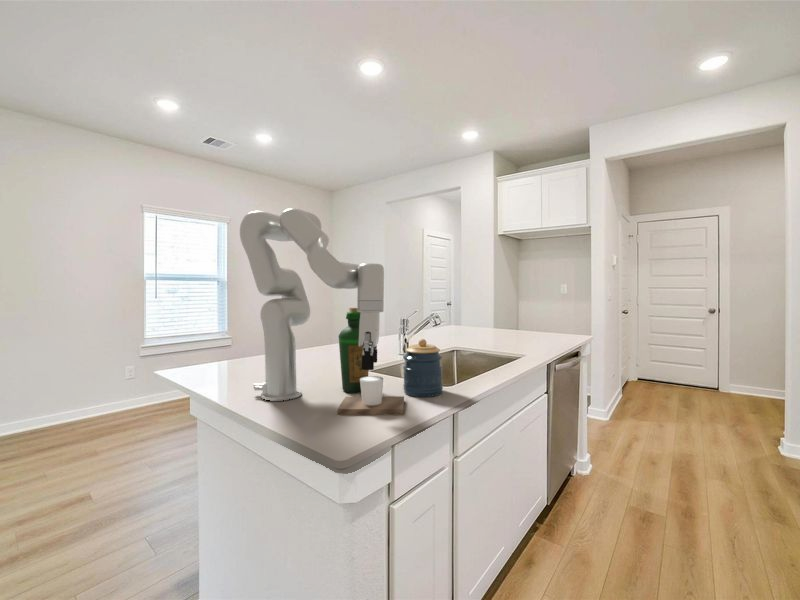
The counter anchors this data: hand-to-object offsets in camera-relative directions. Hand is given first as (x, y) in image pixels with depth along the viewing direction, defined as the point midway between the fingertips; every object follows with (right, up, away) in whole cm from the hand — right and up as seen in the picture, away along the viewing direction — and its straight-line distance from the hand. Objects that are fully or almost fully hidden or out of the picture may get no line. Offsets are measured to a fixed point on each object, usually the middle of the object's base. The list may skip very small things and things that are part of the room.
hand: (369, 365), depth 107 cm
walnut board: (+1, -12, 0) cm, 12 cm away
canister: (+16, -12, +16) cm, 25 cm away
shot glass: (+1, -11, 0) cm, 11 cm away
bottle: (-6, -12, +19) cm, 24 cm away
